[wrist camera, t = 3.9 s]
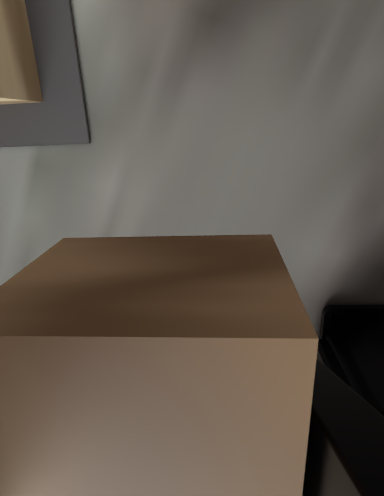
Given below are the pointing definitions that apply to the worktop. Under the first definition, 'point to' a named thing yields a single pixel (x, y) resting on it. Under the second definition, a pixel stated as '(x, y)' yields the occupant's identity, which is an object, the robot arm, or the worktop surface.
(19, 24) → the maple cube
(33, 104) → the pad
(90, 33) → the worktop surface
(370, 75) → the worktop surface
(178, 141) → the worktop surface
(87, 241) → the walnut cube
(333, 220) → the worktop surface
